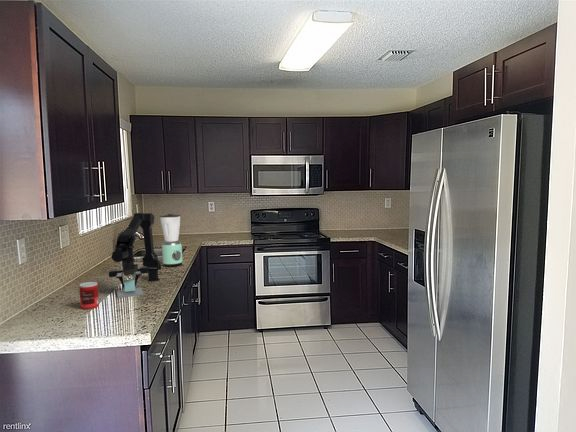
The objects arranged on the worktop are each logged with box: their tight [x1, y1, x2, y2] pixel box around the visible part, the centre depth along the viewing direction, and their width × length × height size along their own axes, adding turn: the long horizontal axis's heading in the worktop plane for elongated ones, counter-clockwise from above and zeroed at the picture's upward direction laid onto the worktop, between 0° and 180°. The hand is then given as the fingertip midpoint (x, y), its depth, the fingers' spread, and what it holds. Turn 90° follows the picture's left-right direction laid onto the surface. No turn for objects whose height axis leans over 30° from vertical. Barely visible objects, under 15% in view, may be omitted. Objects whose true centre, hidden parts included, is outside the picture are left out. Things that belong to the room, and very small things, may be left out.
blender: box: [159, 213, 184, 268], centre depth 277 cm, size 19×13×35 cm
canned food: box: [78, 281, 100, 310], centre depth 188 cm, size 8×8×11 cm
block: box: [123, 278, 136, 292], centre depth 209 cm, size 5×5×5 cm
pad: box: [116, 287, 144, 299], centre depth 210 cm, size 12×12×1 cm
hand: (129, 287), depth 209 cm, fingers closed on block, 5 cm apart
